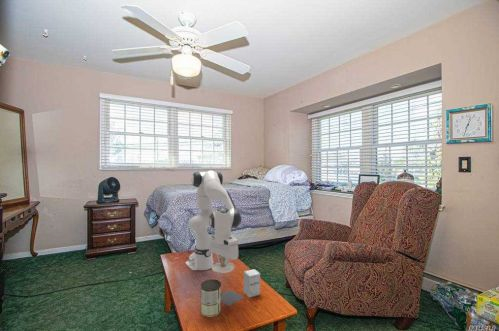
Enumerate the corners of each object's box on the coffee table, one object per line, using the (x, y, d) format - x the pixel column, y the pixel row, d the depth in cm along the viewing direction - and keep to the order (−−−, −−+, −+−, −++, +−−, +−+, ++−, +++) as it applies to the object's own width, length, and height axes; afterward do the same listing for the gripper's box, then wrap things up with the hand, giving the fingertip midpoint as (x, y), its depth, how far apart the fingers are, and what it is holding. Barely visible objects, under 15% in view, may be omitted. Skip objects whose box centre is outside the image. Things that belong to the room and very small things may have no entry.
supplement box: (249, 298, 135) (249, 276, 135) (243, 292, 142) (243, 270, 142) (260, 295, 139) (260, 273, 139) (254, 289, 145) (254, 268, 145)
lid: (207, 268, 129) (207, 258, 129) (223, 261, 138) (223, 252, 138) (222, 275, 121) (222, 264, 121) (238, 267, 130) (238, 257, 130)
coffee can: (198, 308, 125) (198, 281, 125) (216, 303, 130) (216, 277, 130) (204, 320, 116) (204, 291, 116) (223, 314, 121) (224, 286, 121)
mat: (214, 298, 135) (214, 297, 135) (230, 290, 144) (230, 289, 144) (228, 306, 127) (228, 306, 127) (244, 297, 136) (244, 297, 136)
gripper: (206, 235, 134) (206, 260, 134) (231, 243, 121) (231, 270, 121) (214, 233, 139) (215, 257, 139) (240, 240, 126) (240, 266, 126)
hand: (223, 263), depth 130 cm, fingers closed on lid, 3 cm apart
